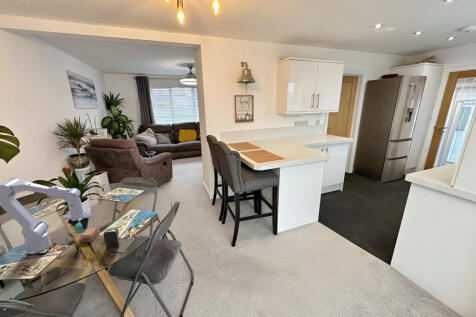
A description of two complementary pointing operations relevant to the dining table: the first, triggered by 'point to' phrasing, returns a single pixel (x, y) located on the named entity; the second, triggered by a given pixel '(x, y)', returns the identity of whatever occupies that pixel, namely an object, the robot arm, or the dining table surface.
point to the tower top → (89, 233)
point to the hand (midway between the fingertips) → (81, 228)
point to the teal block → (79, 228)
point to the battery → (111, 238)
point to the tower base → (89, 238)
